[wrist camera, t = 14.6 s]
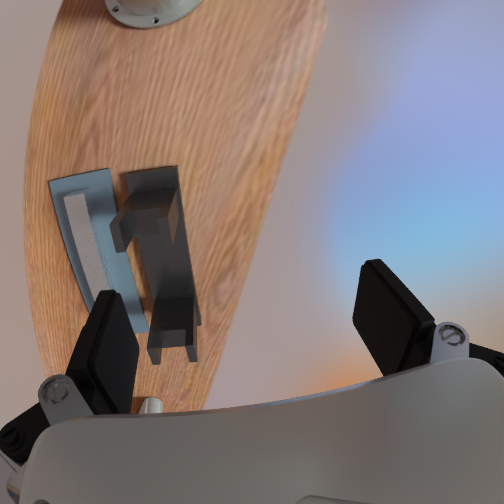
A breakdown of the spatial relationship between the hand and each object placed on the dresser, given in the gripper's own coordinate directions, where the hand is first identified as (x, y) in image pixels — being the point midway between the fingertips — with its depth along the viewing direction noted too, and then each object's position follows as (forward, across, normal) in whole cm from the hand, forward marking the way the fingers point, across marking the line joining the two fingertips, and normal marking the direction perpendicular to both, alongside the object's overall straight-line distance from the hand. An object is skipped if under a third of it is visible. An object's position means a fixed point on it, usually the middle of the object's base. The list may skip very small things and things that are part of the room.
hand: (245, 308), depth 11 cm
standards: (+28, +8, +12) cm, 32 cm away
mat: (+28, +18, +12) cm, 36 cm away
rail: (+28, +18, +12) cm, 35 cm away
